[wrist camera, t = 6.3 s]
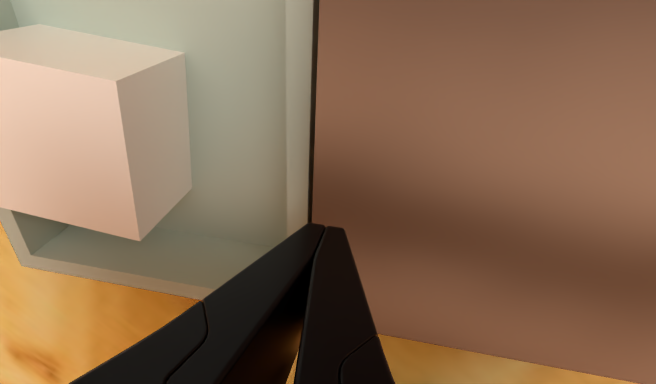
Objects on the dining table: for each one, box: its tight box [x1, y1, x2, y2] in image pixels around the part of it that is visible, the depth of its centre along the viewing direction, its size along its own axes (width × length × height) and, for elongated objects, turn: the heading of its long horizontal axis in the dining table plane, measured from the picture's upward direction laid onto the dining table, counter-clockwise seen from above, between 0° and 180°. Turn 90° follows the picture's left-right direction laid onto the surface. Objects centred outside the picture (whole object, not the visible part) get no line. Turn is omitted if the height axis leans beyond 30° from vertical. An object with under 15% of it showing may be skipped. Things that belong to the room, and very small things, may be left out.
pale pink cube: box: [0, 24, 192, 241], centre depth 11 cm, size 4×4×3 cm
